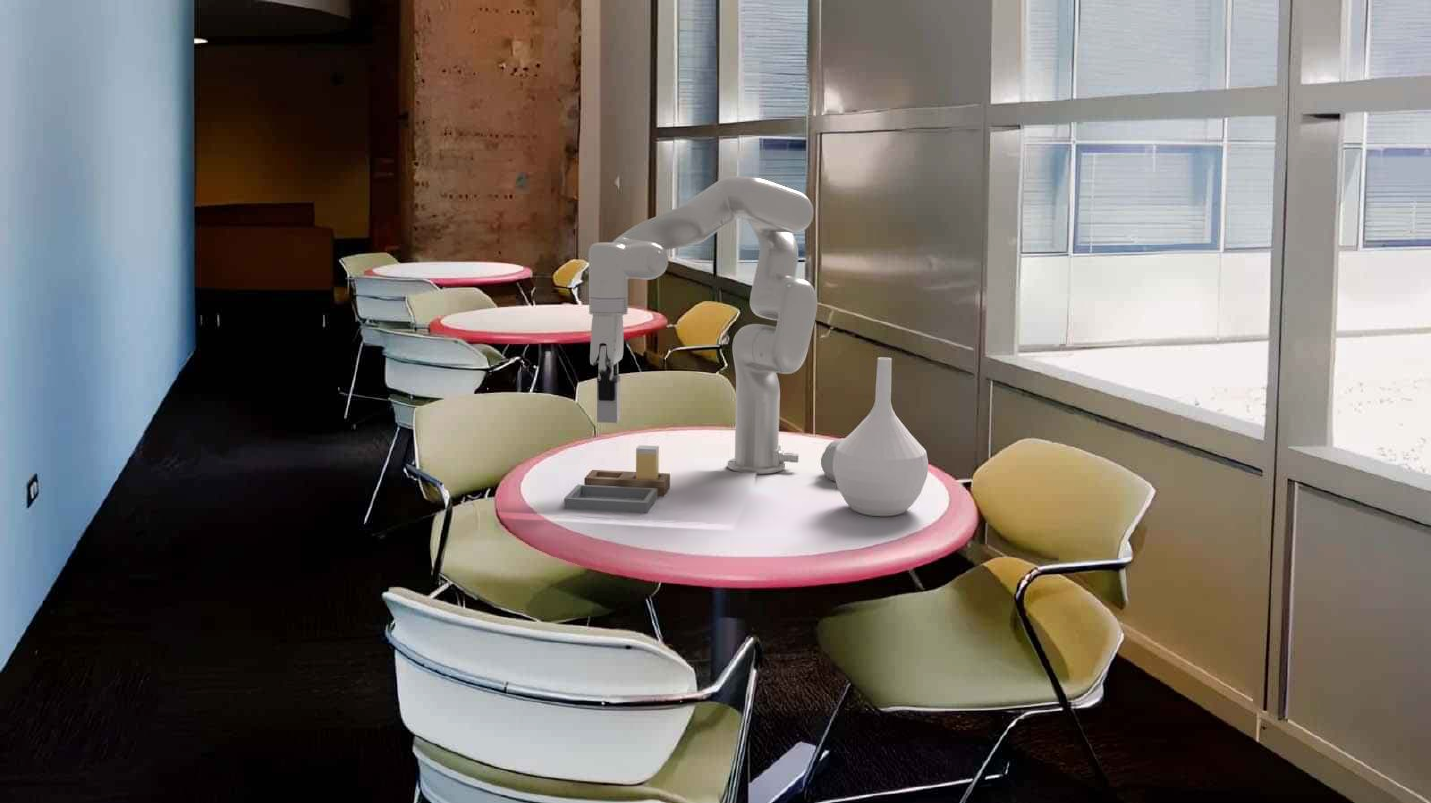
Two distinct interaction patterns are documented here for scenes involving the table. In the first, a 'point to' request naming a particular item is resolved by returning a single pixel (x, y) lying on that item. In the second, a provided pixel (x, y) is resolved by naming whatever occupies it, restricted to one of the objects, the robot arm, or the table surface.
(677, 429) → the table surface
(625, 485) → the block
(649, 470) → the block
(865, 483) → the vase
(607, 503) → the parts tray
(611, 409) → the block
